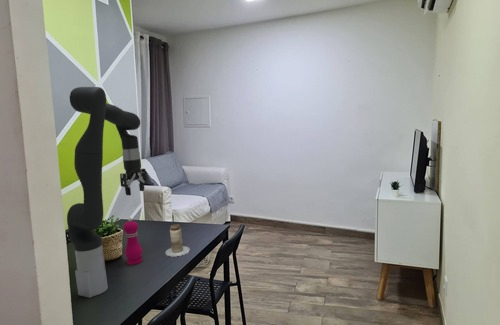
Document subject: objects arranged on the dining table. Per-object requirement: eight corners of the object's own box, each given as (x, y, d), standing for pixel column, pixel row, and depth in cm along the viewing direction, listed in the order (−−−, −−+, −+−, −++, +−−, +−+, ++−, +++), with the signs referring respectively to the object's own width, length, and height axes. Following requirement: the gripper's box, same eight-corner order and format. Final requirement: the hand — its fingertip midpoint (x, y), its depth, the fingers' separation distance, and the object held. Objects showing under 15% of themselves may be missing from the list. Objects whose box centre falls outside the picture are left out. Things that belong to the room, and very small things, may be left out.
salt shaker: (178, 253, 159) (176, 228, 158) (169, 252, 162) (167, 227, 160) (185, 249, 164) (182, 224, 162) (176, 248, 166) (174, 223, 164)
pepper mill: (138, 265, 150) (133, 220, 148) (122, 265, 152) (117, 220, 149) (146, 258, 157) (141, 215, 155) (131, 258, 159) (126, 215, 156)
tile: (180, 258, 156) (180, 256, 155) (160, 255, 160) (160, 253, 160) (194, 248, 165) (194, 247, 165) (175, 246, 170) (175, 245, 170)
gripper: (126, 160, 153) (130, 197, 155) (148, 156, 165) (152, 189, 168) (113, 160, 156) (117, 196, 158) (136, 156, 169) (140, 189, 171)
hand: (135, 193), depth 163 cm, fingers open, 8 cm apart
